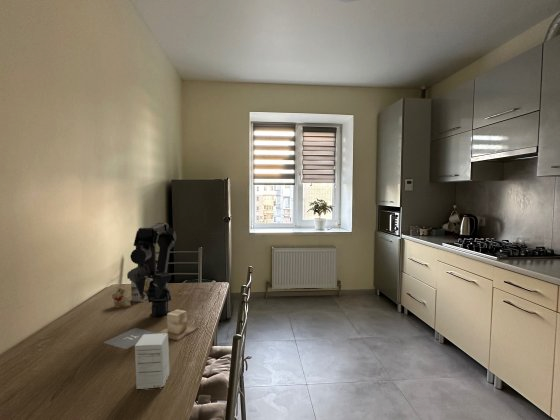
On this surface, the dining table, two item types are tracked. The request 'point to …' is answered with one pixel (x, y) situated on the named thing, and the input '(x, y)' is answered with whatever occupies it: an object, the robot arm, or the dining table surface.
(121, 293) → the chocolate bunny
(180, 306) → the dining table surface
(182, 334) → the walnut board
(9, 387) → the dining table surface
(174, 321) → the maple block
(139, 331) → the slate gray tile
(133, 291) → the coffee box
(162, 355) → the supplement box
